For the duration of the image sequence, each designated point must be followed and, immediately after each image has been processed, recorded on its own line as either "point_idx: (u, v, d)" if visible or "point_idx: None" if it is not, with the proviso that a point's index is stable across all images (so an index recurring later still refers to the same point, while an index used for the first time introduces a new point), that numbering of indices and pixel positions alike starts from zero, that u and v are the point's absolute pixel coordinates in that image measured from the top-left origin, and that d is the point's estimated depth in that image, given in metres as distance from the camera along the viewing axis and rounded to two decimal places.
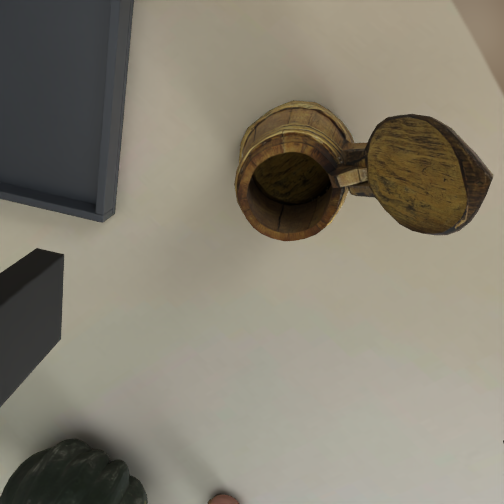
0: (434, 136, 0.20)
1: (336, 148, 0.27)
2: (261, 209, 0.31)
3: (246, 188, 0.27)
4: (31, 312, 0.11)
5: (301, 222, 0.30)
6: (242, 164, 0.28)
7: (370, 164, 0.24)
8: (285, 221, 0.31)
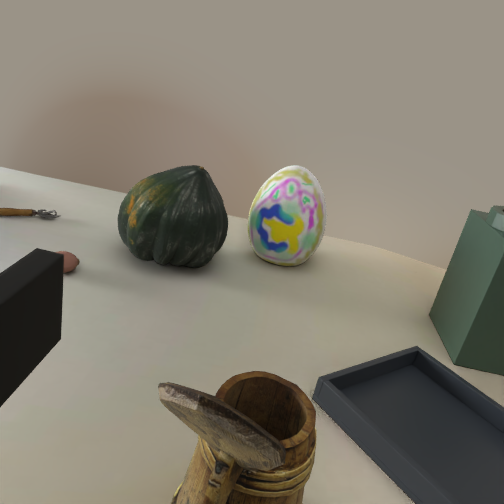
0: None
1: (257, 482, 0.24)
2: (251, 418, 0.31)
3: (296, 392, 0.28)
4: (31, 312, 0.11)
5: None
6: None
7: None
8: None
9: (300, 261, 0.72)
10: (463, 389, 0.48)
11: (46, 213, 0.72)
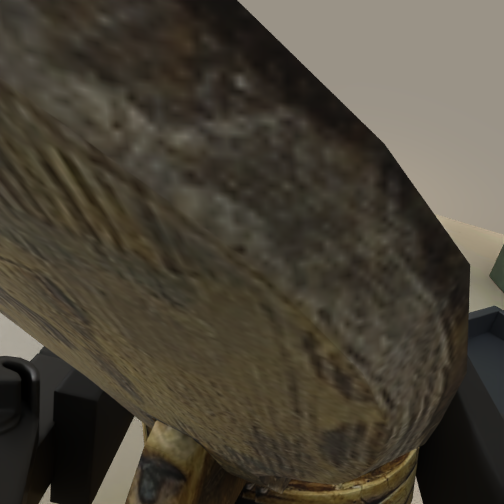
0: None
1: None
2: None
3: None
4: None
5: None
6: None
7: None
8: None
9: None
10: None
11: None
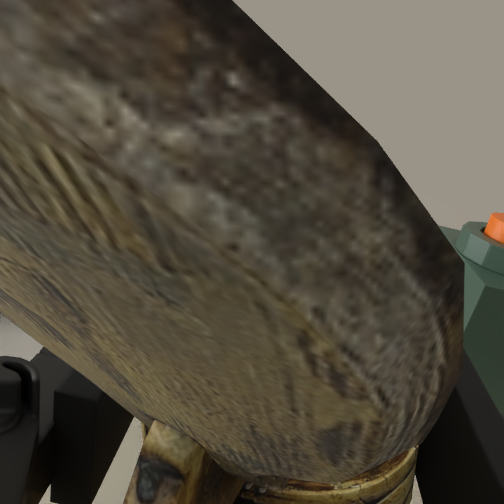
0: None
1: None
2: None
3: None
4: None
5: None
6: None
7: None
8: None
9: None
10: None
11: None
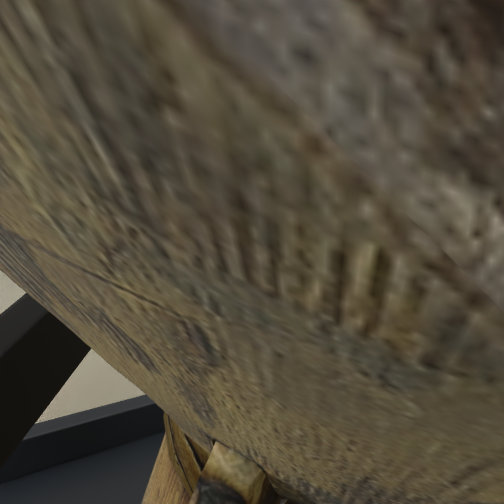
0: None
1: None
2: None
3: None
4: None
5: None
6: None
7: None
8: None
9: None
10: None
11: None
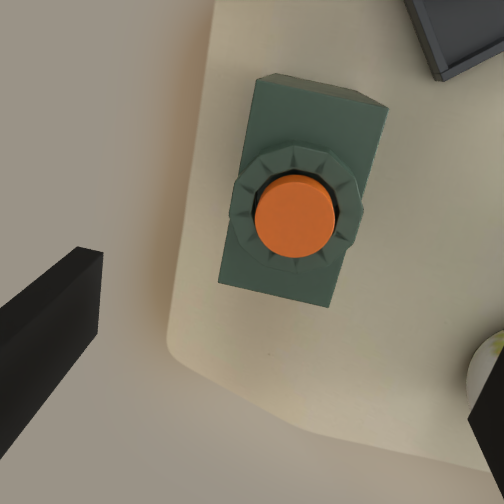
0: None
1: None
2: None
3: None
4: (76, 307, 0.12)
5: None
6: None
7: None
8: None
9: (503, 330, 0.44)
10: None
11: None
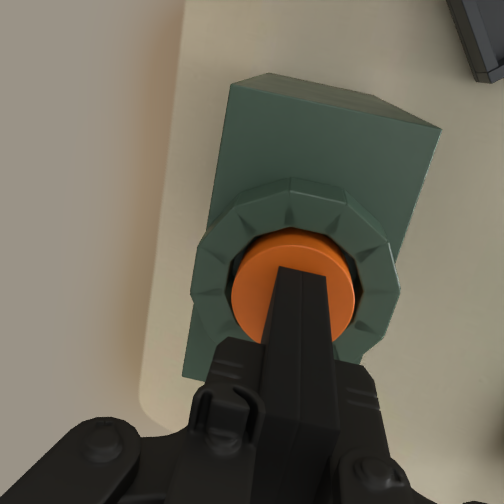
0: None
1: None
2: None
3: None
4: None
5: None
6: None
7: None
8: None
9: None
10: None
11: None
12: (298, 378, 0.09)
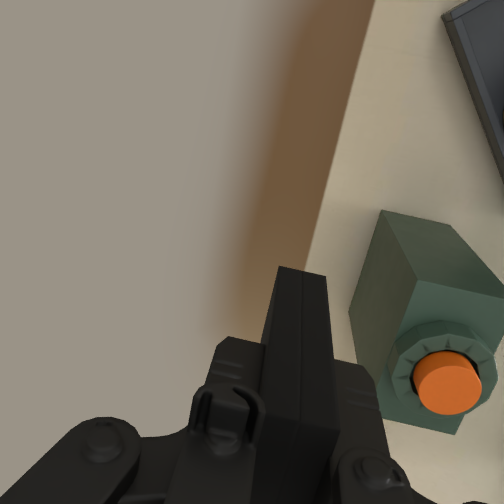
0: None
1: None
2: None
3: None
4: None
5: None
6: None
7: None
8: None
9: None
10: None
11: None
12: (298, 378, 0.09)
